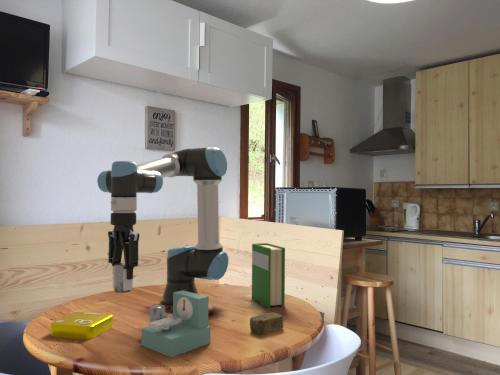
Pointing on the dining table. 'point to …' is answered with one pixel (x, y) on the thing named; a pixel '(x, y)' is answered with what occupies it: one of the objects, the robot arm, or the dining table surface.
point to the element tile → (81, 325)
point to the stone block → (266, 323)
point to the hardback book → (268, 274)
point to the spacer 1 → (119, 278)
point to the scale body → (181, 326)
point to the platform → (165, 323)
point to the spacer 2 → (157, 312)
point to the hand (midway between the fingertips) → (122, 288)
